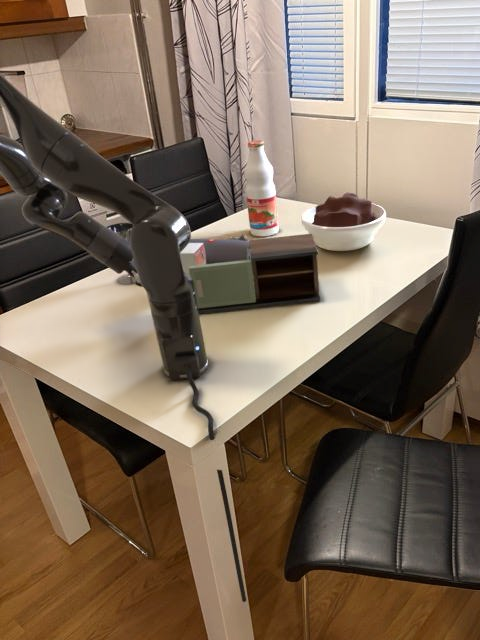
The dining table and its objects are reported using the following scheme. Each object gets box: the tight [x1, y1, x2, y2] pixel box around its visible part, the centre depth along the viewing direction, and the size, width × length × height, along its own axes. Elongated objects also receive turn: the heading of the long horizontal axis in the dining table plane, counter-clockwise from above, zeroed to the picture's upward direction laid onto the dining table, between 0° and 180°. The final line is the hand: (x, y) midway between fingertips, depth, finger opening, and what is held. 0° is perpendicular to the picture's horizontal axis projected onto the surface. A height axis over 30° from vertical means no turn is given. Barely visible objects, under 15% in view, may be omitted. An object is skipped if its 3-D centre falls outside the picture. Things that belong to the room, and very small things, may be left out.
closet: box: [248, 233, 320, 300], centre depth 150 cm, size 10×16×13 cm, turn 95°
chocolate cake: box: [300, 192, 387, 252], centre depth 174 cm, size 25×25×15 cm
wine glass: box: [106, 222, 137, 285], centre depth 164 cm, size 8×8×15 cm
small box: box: [180, 243, 207, 275], centre depth 159 cm, size 8×6×10 cm
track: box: [198, 246, 321, 315], centre depth 144 cm, size 3×32×13 cm, turn 95°
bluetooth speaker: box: [189, 238, 251, 264], centre depth 166 cm, size 23×9×10 cm
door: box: [189, 260, 256, 308], centre depth 144 cm, size 2×15×11 cm, turn 95°
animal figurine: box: [229, 233, 249, 241], centre depth 181 cm, size 12×4×5 cm
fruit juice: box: [243, 139, 280, 237], centre depth 185 cm, size 9×9×28 cm
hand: (173, 292), depth 144 cm, fingers closed
